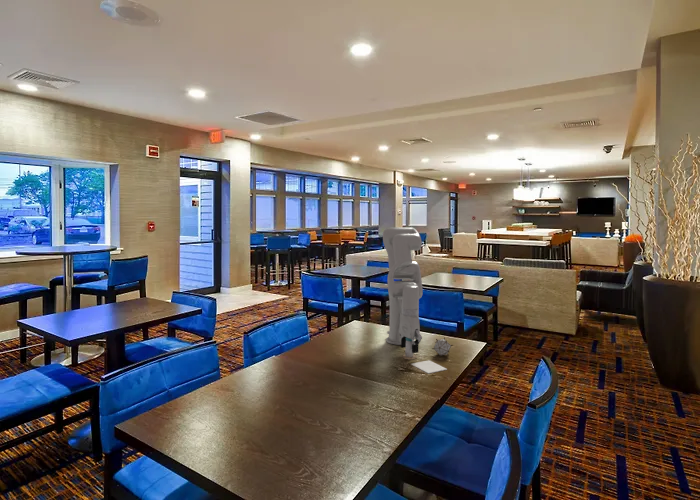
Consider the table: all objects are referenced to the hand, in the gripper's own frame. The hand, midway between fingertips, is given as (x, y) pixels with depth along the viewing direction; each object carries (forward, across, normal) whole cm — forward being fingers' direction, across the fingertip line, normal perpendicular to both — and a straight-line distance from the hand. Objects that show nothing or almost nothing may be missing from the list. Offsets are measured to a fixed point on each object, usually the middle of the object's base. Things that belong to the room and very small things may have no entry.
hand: (409, 349), depth 189 cm
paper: (+4, +14, 0) cm, 14 cm away
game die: (+4, +5, +15) cm, 16 cm away
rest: (+4, 0, 0) cm, 4 cm away
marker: (+3, 0, 0) cm, 3 cm away
